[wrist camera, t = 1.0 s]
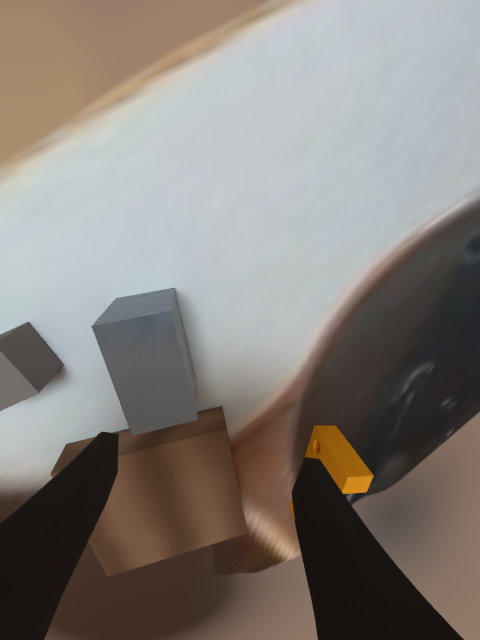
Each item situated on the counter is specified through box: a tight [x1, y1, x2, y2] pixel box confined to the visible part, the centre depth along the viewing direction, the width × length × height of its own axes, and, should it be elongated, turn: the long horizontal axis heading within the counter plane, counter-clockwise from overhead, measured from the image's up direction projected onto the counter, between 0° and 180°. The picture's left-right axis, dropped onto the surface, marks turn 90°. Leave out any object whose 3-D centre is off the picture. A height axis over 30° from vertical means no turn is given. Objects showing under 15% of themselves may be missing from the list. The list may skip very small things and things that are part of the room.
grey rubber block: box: [0, 322, 63, 411], centre depth 19 cm, size 4×4×4 cm
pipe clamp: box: [289, 426, 373, 520], centre depth 28 cm, size 12×4×6 cm, turn 170°
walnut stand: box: [51, 406, 248, 577], centre depth 26 cm, size 14×14×3 cm
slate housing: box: [92, 288, 198, 436], centre depth 20 cm, size 4×9×6 cm, turn 8°
